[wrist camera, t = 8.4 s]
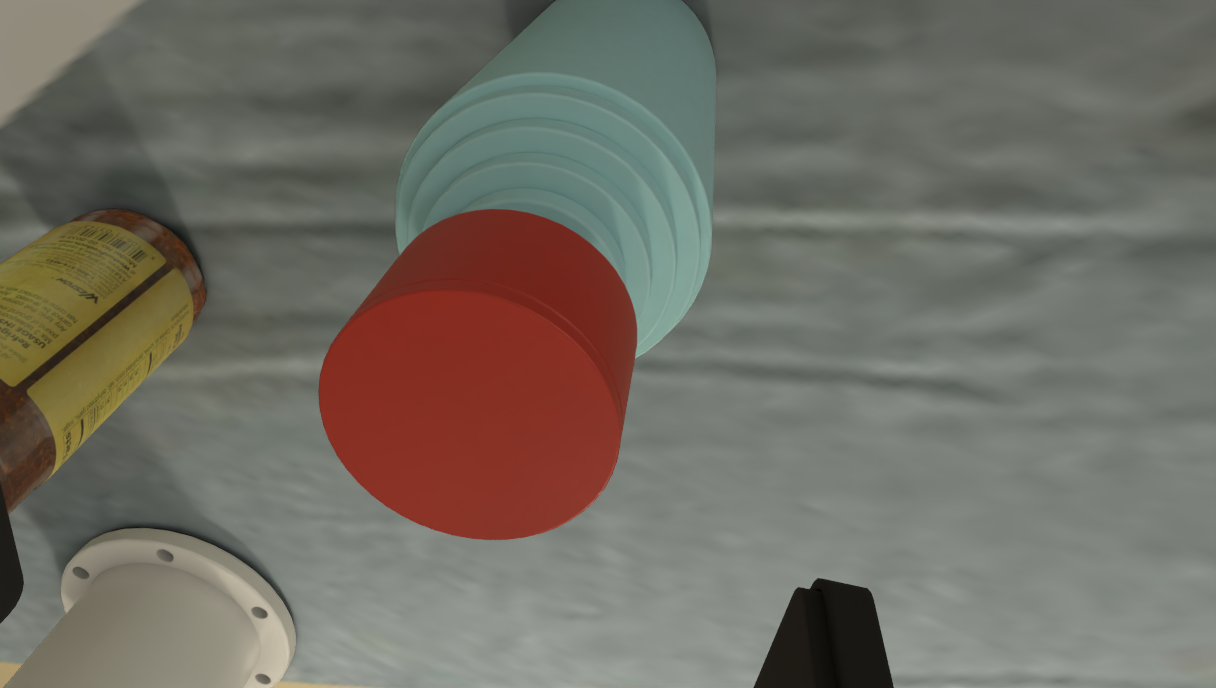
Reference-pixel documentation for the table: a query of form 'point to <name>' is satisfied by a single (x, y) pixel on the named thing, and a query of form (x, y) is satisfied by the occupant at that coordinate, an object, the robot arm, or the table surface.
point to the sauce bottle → (84, 333)
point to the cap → (485, 377)
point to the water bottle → (587, 145)
